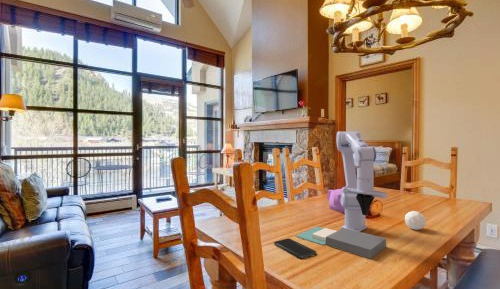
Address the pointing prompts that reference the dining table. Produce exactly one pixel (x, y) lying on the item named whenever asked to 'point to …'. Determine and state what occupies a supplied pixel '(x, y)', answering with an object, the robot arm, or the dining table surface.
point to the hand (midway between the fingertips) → (365, 214)
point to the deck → (356, 242)
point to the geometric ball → (415, 220)
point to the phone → (295, 248)
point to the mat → (308, 235)
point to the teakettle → (335, 200)
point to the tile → (322, 234)
